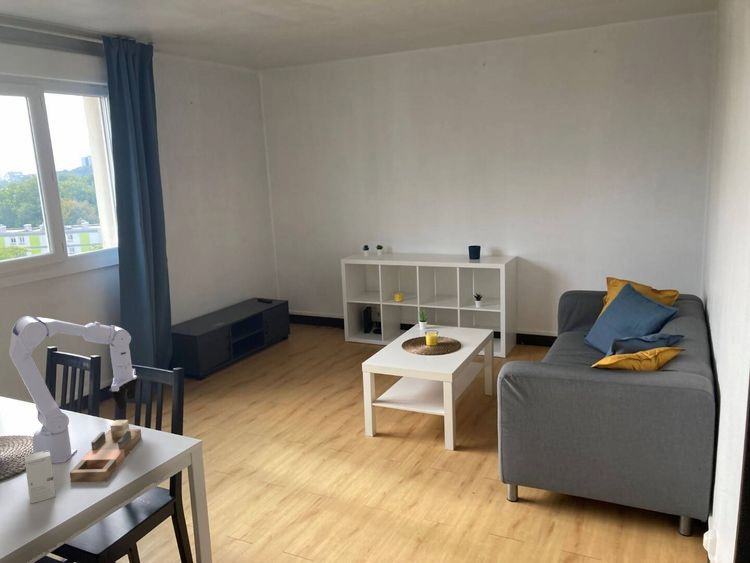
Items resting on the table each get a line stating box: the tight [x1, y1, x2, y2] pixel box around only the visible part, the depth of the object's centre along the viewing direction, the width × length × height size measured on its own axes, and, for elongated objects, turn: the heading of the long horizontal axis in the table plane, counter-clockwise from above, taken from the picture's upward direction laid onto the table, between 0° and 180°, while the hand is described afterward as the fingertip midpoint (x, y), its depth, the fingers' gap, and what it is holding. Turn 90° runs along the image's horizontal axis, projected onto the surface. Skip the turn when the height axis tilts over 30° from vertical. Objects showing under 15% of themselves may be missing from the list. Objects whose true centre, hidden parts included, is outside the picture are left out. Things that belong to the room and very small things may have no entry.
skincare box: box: [23, 450, 56, 504], centre depth 159 cm, size 6×4×12 cm
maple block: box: [110, 419, 130, 438], centre depth 188 cm, size 4×4×4 cm
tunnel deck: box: [69, 428, 142, 483], centre depth 179 cm, size 10×26×6 cm, turn 1°
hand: (127, 403), depth 194 cm, fingers open, 7 cm apart
